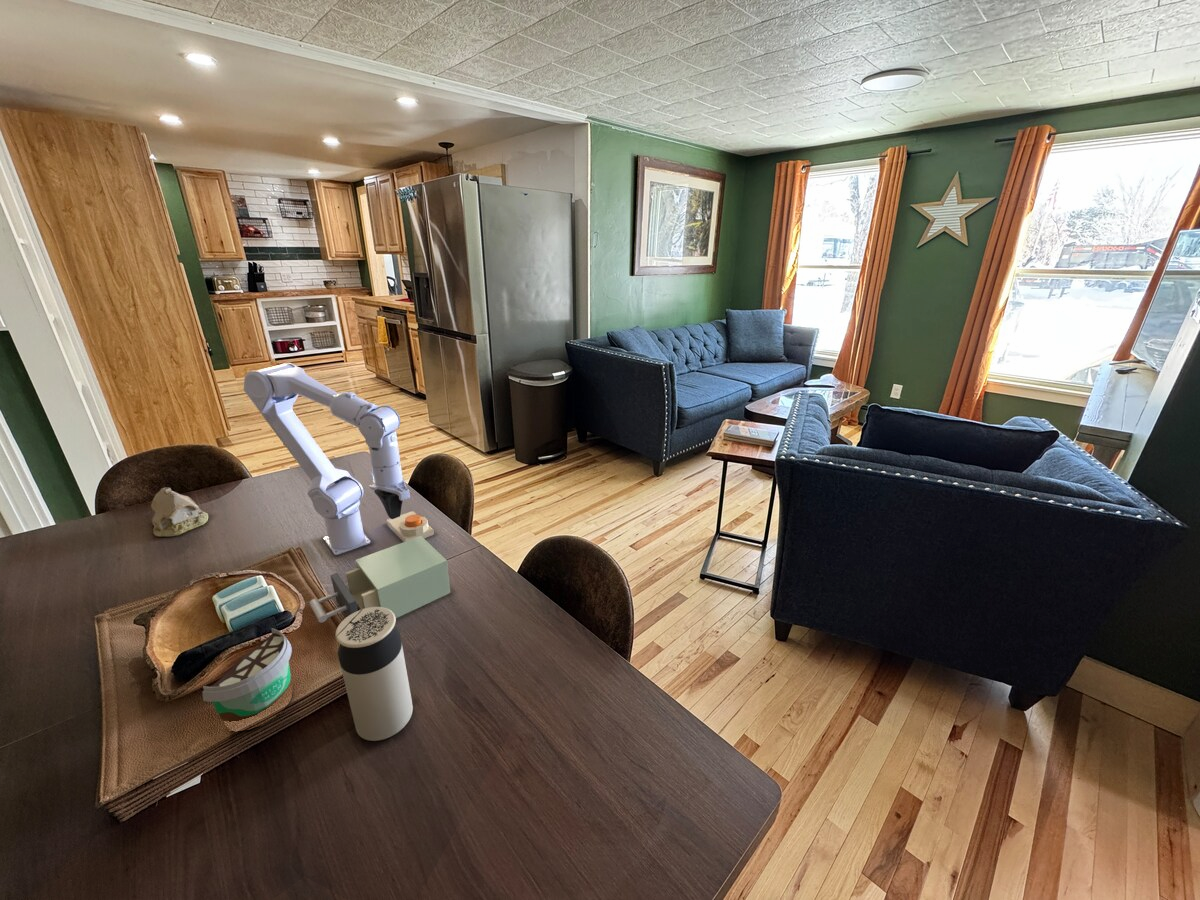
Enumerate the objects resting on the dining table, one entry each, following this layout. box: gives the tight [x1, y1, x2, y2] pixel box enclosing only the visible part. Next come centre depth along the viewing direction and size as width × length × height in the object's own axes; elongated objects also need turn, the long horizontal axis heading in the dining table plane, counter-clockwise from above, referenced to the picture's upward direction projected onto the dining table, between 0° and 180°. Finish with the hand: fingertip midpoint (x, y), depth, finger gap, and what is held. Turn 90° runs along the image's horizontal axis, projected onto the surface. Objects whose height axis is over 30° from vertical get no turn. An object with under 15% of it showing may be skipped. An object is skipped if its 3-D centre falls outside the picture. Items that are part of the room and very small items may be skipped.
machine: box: [355, 536, 451, 619], centre depth 96 cm, size 14×12×8 cm
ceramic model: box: [150, 486, 209, 537], centre depth 118 cm, size 14×11×10 cm
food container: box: [202, 628, 293, 722], centre depth 71 cm, size 12×6×10 cm, turn 168°
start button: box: [405, 513, 422, 527], centre depth 116 cm, size 4×4×2 cm
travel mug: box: [335, 607, 414, 742], centre depth 68 cm, size 8×8×18 cm
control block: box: [386, 510, 435, 543], centre depth 119 cm, size 12×7×4 cm, turn 43°
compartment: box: [309, 567, 380, 624], centre depth 91 cm, size 17×11×6 cm, turn 133°
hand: (394, 516), depth 108 cm, fingers closed
